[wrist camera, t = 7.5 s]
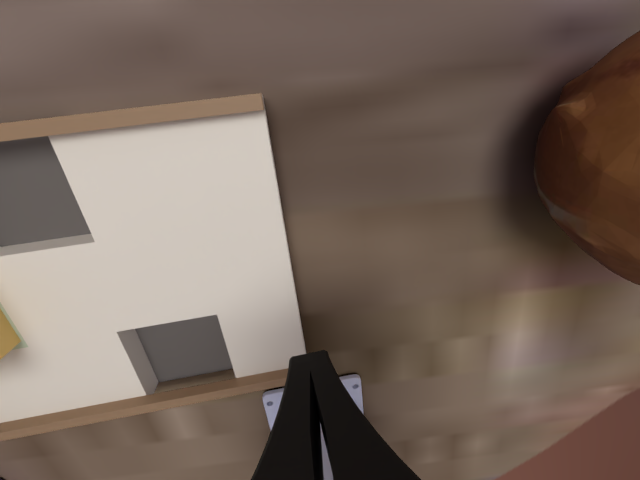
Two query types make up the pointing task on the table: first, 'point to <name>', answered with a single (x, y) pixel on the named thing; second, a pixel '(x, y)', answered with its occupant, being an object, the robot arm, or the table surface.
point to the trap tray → (141, 262)
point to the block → (7, 336)
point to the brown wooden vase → (597, 160)
